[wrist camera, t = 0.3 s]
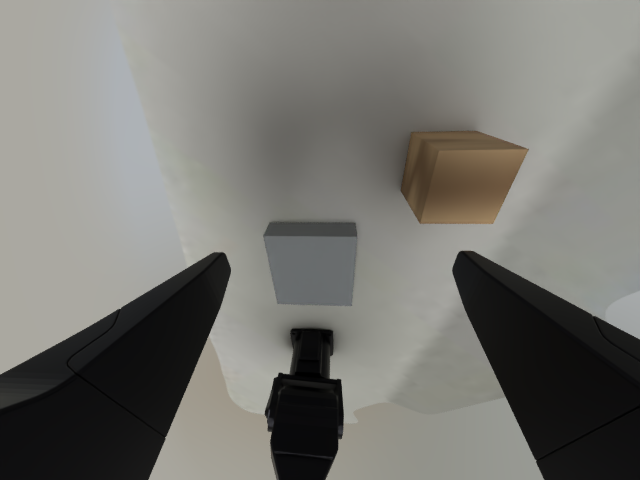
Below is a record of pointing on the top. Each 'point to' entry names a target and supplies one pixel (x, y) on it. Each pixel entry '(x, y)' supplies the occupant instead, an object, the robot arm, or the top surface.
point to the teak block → (459, 176)
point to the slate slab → (312, 262)
